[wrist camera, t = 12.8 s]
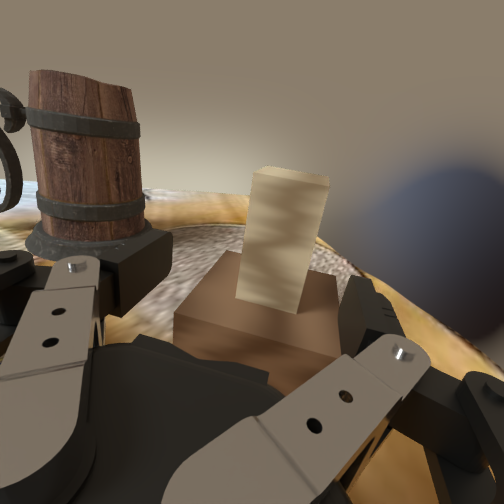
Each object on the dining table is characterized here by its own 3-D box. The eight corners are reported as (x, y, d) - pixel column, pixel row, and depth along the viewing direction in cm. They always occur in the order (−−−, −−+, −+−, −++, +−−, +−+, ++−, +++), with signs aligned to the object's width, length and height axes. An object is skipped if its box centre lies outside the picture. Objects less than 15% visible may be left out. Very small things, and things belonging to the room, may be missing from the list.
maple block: (235, 298, 22) (253, 172, 18) (250, 271, 26) (267, 165, 22) (296, 314, 21) (329, 186, 17) (300, 283, 26) (328, 176, 22)
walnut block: (172, 363, 21) (173, 312, 19) (221, 288, 32) (226, 250, 30) (325, 411, 20) (345, 360, 17) (323, 314, 30) (335, 275, 28)
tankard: (167, 223, 49) (169, 97, 41) (145, 268, 34) (142, 82, 26) (20, 209, 45) (-10, 66, 37) (-79, 253, 30) (-168, 27, 22)
